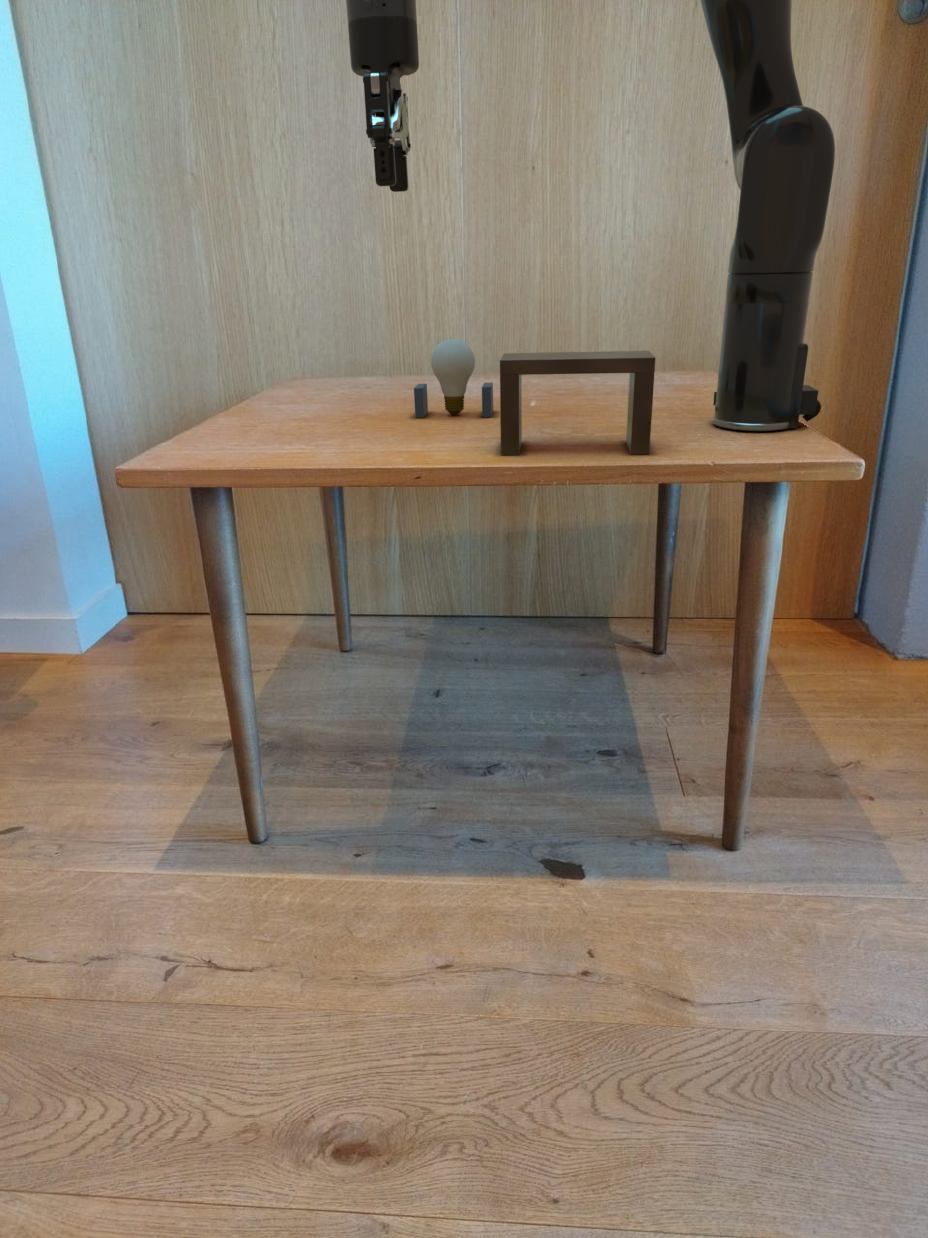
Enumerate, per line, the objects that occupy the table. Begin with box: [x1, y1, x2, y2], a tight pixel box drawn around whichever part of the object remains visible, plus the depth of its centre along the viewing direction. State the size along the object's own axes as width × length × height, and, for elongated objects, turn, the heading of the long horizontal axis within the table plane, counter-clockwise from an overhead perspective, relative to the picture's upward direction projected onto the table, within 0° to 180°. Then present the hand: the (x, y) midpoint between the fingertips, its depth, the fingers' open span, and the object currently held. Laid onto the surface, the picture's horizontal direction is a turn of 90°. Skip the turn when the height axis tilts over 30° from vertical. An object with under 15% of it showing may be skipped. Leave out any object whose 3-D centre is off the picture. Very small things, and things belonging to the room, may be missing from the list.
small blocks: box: [413, 382, 494, 419], centre depth 112 cm, size 10×4×4 cm, turn 84°
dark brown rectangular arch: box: [499, 350, 656, 456], centre depth 90 cm, size 16×6×10 cm, turn 84°
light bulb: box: [430, 338, 476, 416], centre depth 111 cm, size 6×6×10 cm
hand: (393, 188), depth 95 cm, fingers open, 8 cm apart
